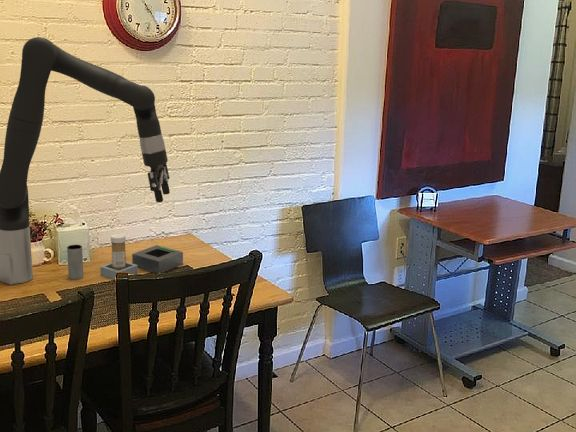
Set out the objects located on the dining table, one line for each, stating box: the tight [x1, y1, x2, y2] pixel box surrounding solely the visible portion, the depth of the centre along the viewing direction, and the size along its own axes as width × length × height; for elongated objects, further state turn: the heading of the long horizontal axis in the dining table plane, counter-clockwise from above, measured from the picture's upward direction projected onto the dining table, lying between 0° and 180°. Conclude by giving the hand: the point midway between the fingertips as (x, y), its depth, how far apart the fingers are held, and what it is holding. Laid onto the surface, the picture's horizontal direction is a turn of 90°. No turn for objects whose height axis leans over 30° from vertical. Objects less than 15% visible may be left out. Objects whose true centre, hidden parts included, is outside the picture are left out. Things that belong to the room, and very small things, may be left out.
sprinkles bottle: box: [110, 233, 127, 271], centre depth 208 cm, size 5×5×14 cm
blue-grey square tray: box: [99, 261, 139, 281], centre depth 209 cm, size 8×8×3 cm
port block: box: [131, 244, 184, 274], centre depth 219 cm, size 12×12×5 cm
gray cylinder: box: [66, 244, 84, 281], centre depth 205 cm, size 4×4×10 cm
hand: (163, 197), depth 208 cm, fingers open, 8 cm apart
